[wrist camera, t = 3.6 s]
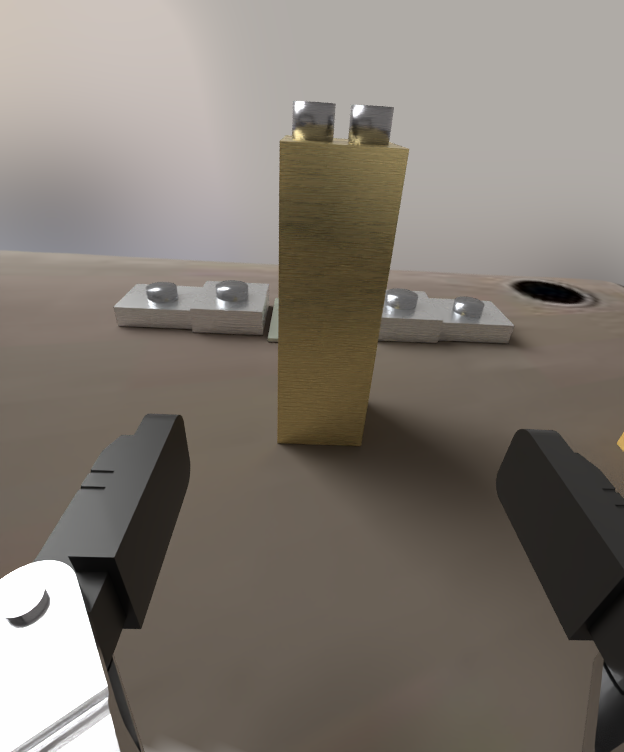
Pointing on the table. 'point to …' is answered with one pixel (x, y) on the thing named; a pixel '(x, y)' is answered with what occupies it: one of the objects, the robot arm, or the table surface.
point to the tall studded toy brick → (333, 267)
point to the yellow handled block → (621, 442)
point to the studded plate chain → (251, 302)
